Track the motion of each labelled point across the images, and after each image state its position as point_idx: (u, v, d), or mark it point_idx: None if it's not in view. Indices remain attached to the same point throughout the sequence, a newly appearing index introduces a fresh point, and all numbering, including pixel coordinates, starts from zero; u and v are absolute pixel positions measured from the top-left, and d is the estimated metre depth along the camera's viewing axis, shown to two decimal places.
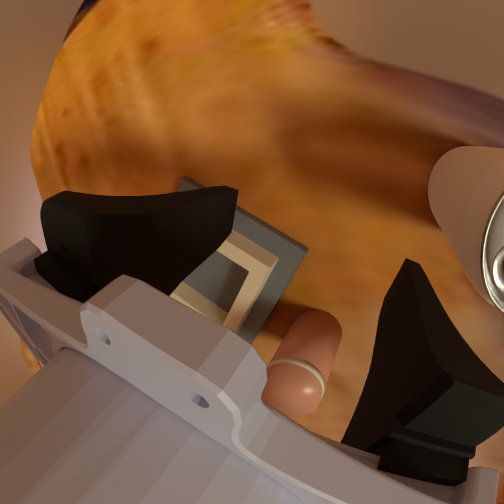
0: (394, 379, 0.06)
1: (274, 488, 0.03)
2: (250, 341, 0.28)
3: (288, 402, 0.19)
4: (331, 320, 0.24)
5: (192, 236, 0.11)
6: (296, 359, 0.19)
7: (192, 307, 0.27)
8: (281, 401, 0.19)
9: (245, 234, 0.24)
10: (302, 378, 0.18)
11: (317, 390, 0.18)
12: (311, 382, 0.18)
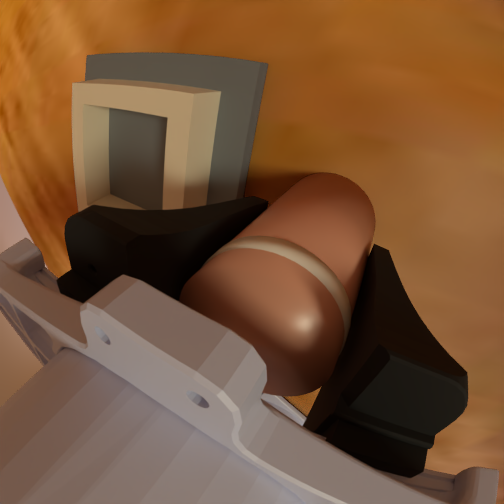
0: (347, 360, 0.07)
1: (274, 488, 0.03)
2: None
3: None
4: (346, 183, 0.12)
5: None
6: (255, 238, 0.08)
7: None
8: None
9: (166, 79, 0.13)
10: (265, 278, 0.06)
11: (321, 313, 0.06)
12: (296, 288, 0.06)
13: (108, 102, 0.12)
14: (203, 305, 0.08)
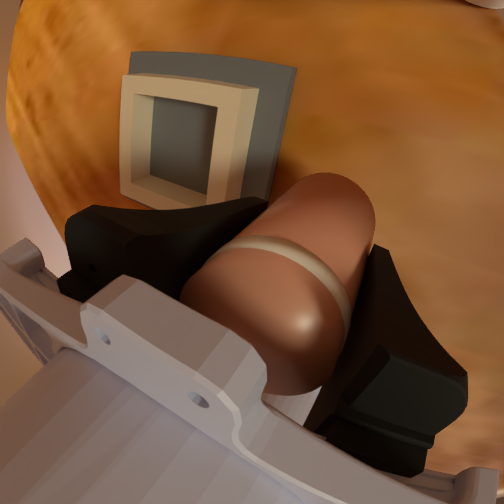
0: (347, 360, 0.07)
1: (274, 488, 0.03)
2: None
3: None
4: (346, 183, 0.12)
5: None
6: (255, 238, 0.08)
7: (165, 198, 0.19)
8: None
9: (210, 76, 0.16)
10: (265, 277, 0.06)
11: (321, 313, 0.06)
12: (296, 288, 0.06)
13: (160, 92, 0.15)
14: (203, 305, 0.08)
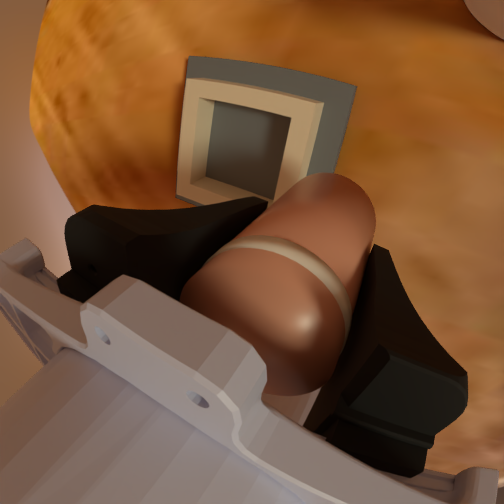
0: (347, 360, 0.07)
1: (274, 488, 0.03)
2: None
3: None
4: (346, 183, 0.12)
5: None
6: (255, 238, 0.08)
7: (228, 199, 0.21)
8: None
9: (276, 87, 0.17)
10: (266, 278, 0.06)
11: (322, 313, 0.06)
12: (297, 288, 0.06)
13: (231, 99, 0.17)
14: (203, 305, 0.08)
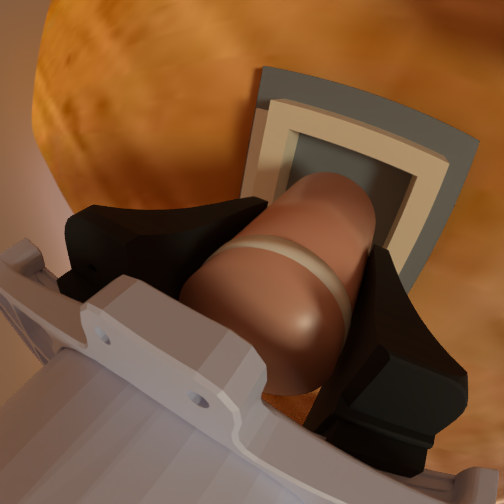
0: (347, 360, 0.07)
1: (274, 488, 0.03)
2: None
3: None
4: (346, 182, 0.12)
5: None
6: (255, 237, 0.08)
7: None
8: None
9: (387, 127, 0.13)
10: (265, 277, 0.06)
11: (321, 312, 0.06)
12: (296, 287, 0.06)
13: (338, 139, 0.13)
14: (203, 304, 0.08)
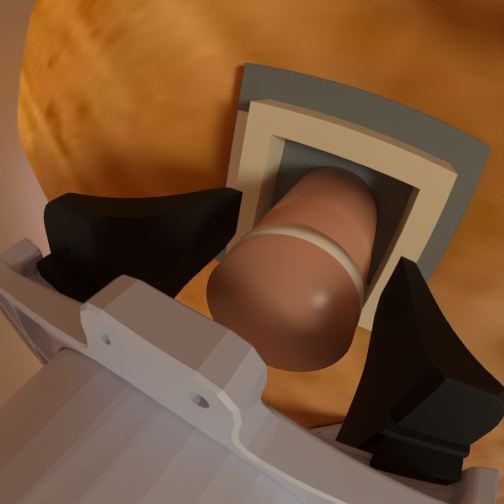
0: (387, 376, 0.06)
1: (274, 488, 0.03)
2: None
3: (284, 338, 0.09)
4: (351, 176, 0.13)
5: (197, 238, 0.10)
6: (278, 225, 0.08)
7: None
8: (269, 339, 0.09)
9: (386, 130, 0.12)
10: (293, 258, 0.07)
11: (342, 289, 0.07)
12: (320, 267, 0.07)
13: (327, 145, 0.11)
14: (231, 287, 0.08)
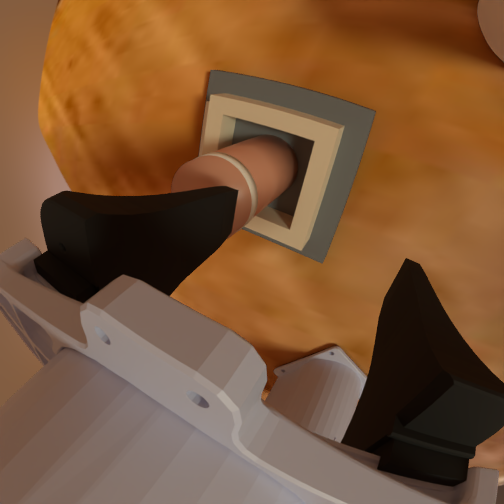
0: (394, 379, 0.06)
1: (274, 488, 0.03)
2: (325, 249, 0.23)
3: None
4: (275, 138, 0.19)
5: (192, 236, 0.11)
6: (209, 153, 0.15)
7: None
8: None
9: (299, 108, 0.18)
10: (208, 161, 0.14)
11: (232, 176, 0.14)
12: (221, 165, 0.14)
13: (255, 119, 0.18)
14: (182, 184, 0.15)
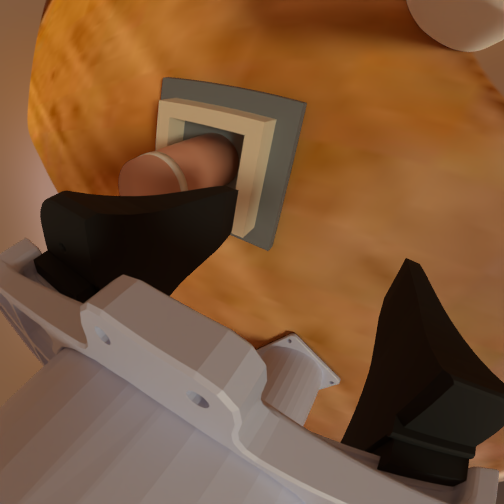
0: (394, 379, 0.06)
1: (274, 488, 0.03)
2: (269, 237, 0.24)
3: None
4: (215, 136, 0.21)
5: (192, 236, 0.11)
6: (147, 153, 0.17)
7: None
8: None
9: (236, 106, 0.20)
10: (142, 160, 0.16)
11: (161, 170, 0.16)
12: (152, 162, 0.16)
13: (195, 119, 0.20)
14: (126, 181, 0.17)
